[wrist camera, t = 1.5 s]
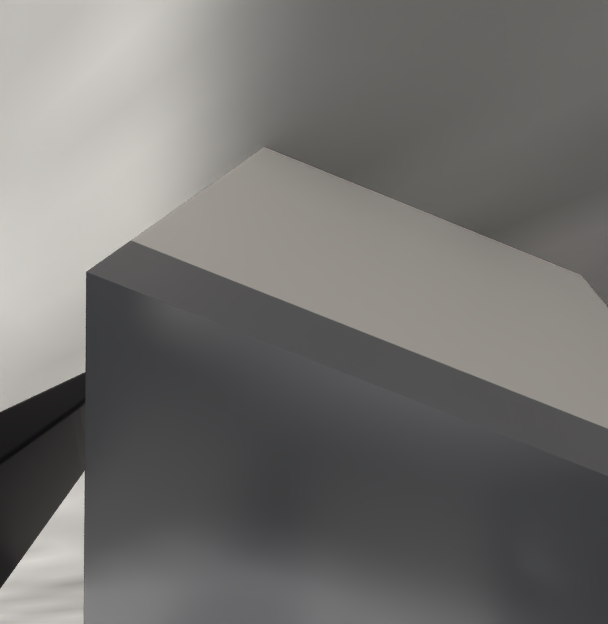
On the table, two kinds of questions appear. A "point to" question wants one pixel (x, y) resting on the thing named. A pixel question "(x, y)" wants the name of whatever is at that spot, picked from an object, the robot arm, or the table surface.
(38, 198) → the table surface
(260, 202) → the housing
